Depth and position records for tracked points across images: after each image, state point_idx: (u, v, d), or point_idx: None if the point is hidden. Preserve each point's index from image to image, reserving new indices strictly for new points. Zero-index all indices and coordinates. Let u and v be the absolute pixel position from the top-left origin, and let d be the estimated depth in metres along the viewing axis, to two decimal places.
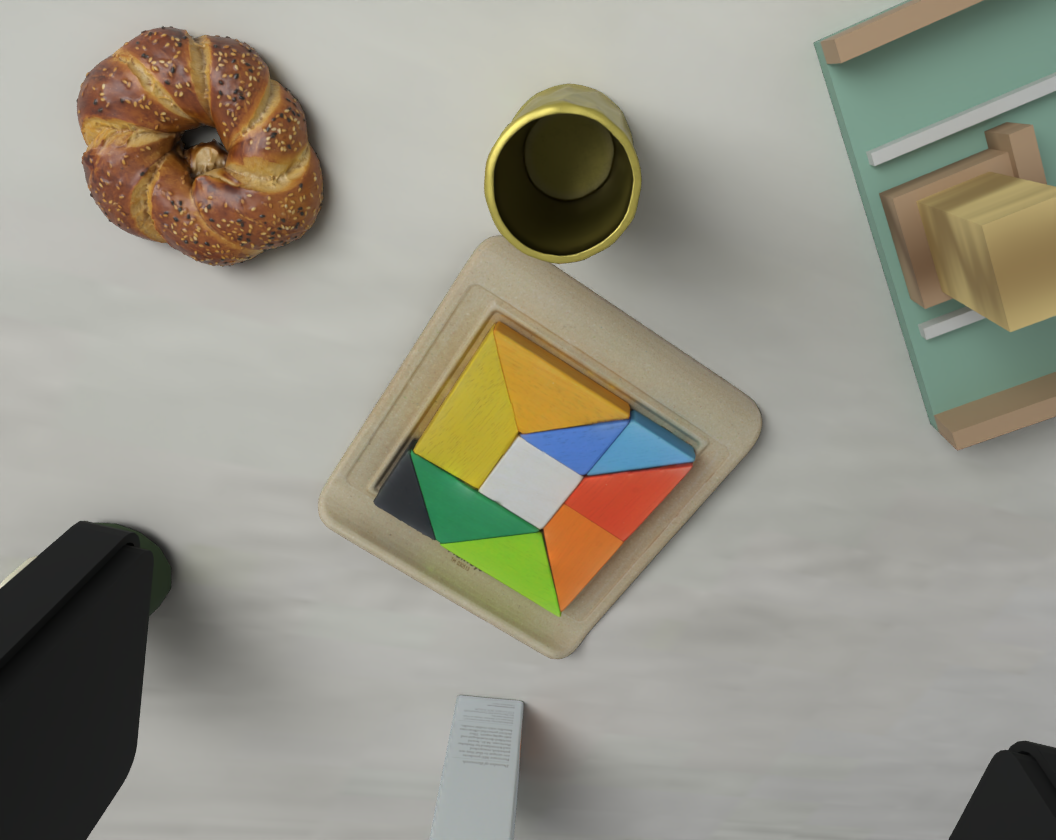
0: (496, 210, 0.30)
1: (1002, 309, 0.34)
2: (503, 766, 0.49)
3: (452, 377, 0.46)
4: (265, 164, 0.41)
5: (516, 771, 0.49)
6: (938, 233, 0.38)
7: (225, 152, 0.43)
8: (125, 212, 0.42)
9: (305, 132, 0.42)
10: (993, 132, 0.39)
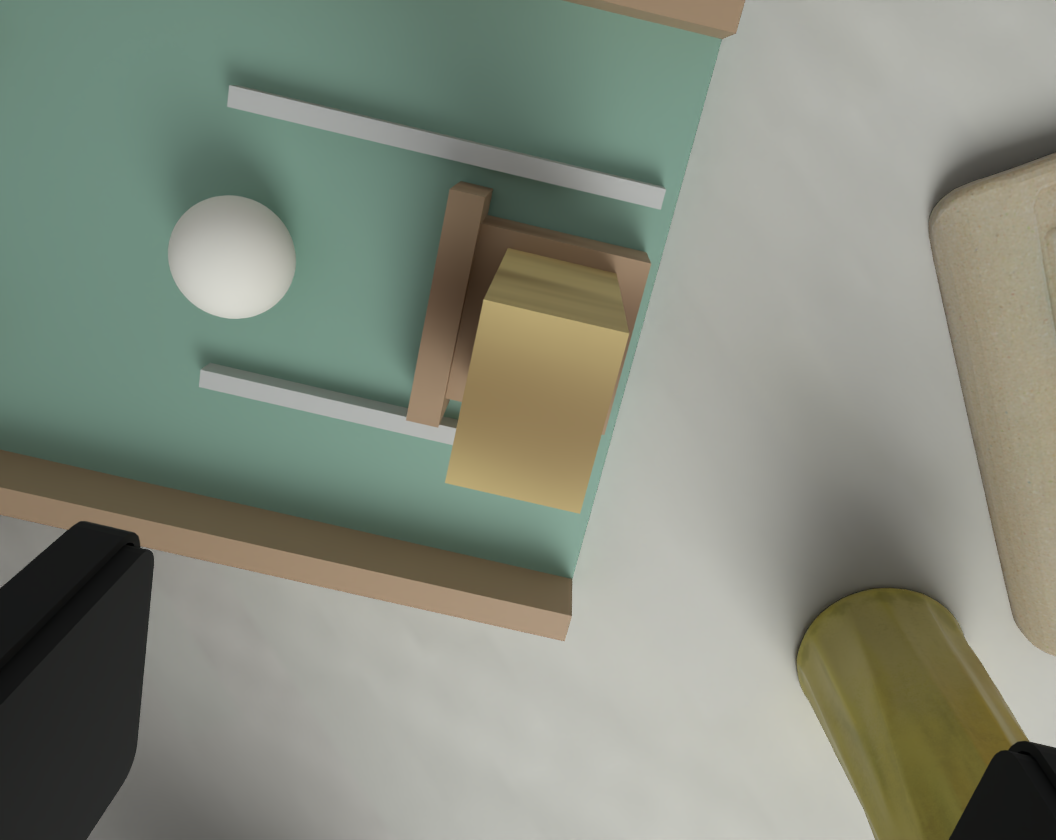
0: None
1: (618, 370, 0.20)
2: None
3: None
4: None
5: None
6: None
7: None
8: None
9: None
10: (444, 409, 0.29)
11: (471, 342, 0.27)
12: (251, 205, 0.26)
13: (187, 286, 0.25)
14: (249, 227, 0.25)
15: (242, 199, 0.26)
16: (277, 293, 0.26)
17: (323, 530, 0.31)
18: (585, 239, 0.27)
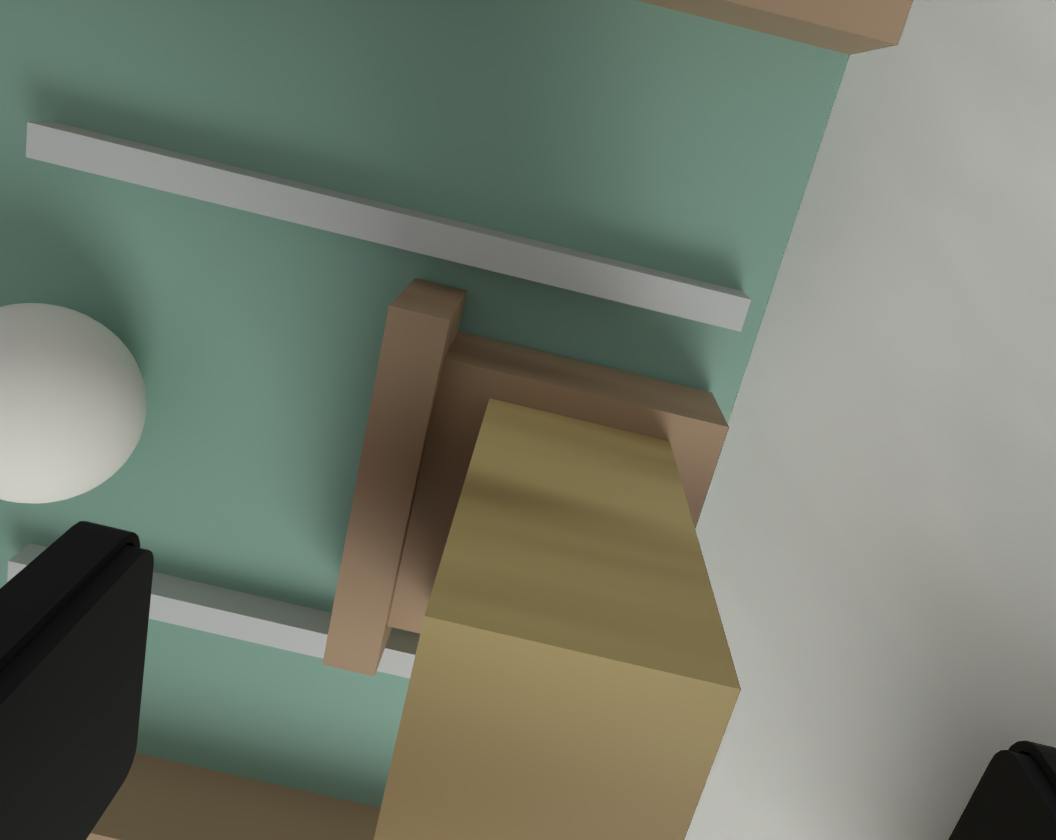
0: None
1: (710, 749, 0.09)
2: None
3: None
4: None
5: None
6: None
7: None
8: None
9: None
10: None
11: (429, 544, 0.16)
12: (59, 323, 0.15)
13: None
14: (48, 365, 0.15)
15: (45, 312, 0.15)
16: (108, 465, 0.16)
17: (209, 787, 0.20)
18: (615, 373, 0.17)
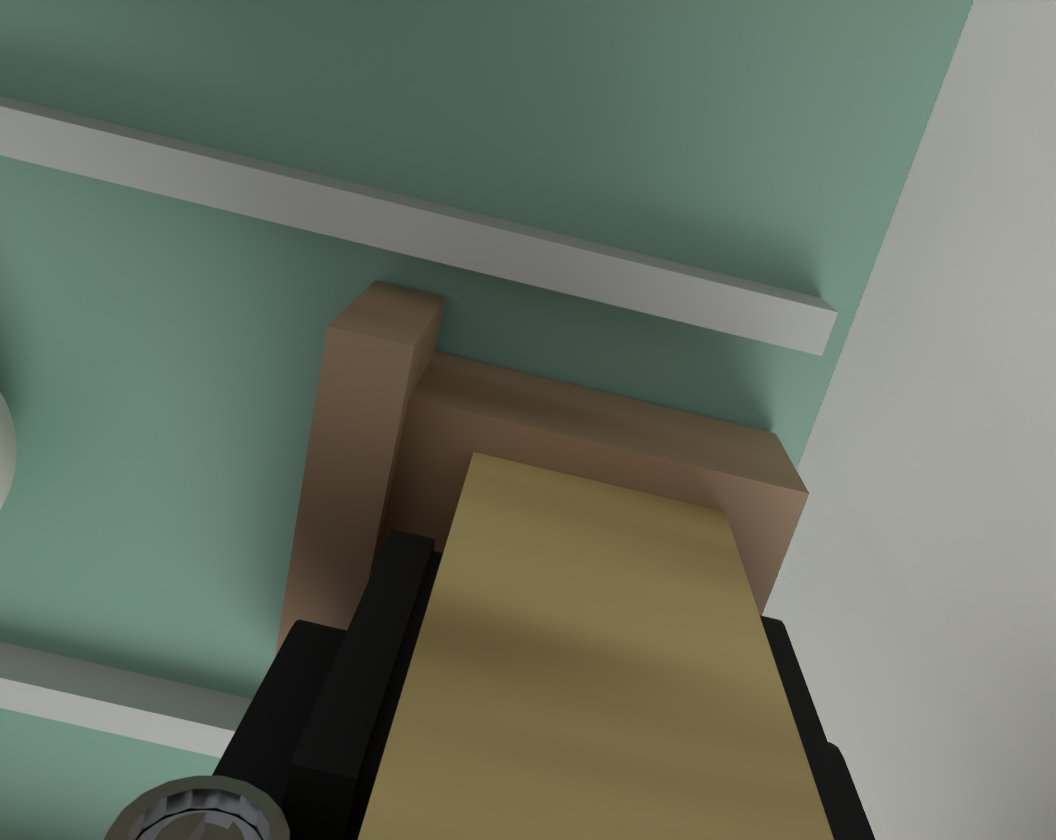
0: None
1: None
2: None
3: None
4: None
5: None
6: None
7: None
8: None
9: None
10: None
11: None
12: None
13: None
14: None
15: None
16: None
17: None
18: (646, 409, 0.12)
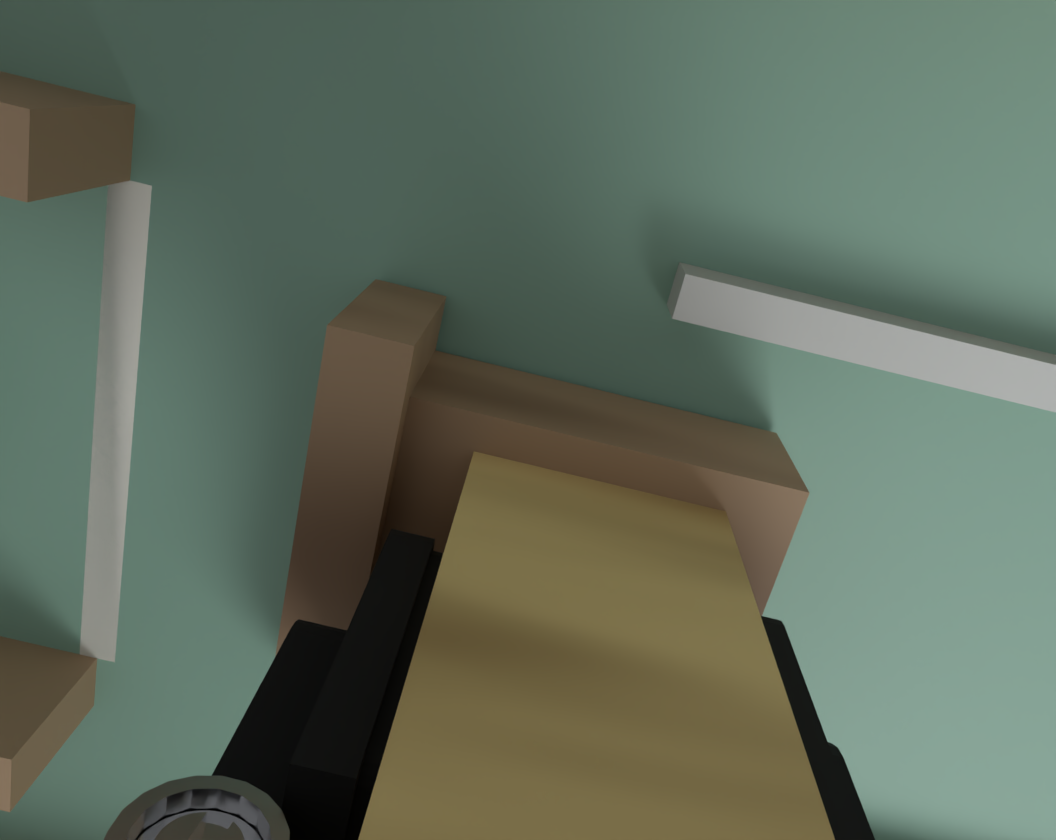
0: None
1: None
2: None
3: None
4: None
5: None
6: None
7: None
8: None
9: None
10: None
11: None
12: None
13: None
14: None
15: None
16: None
17: None
18: (647, 408, 0.12)
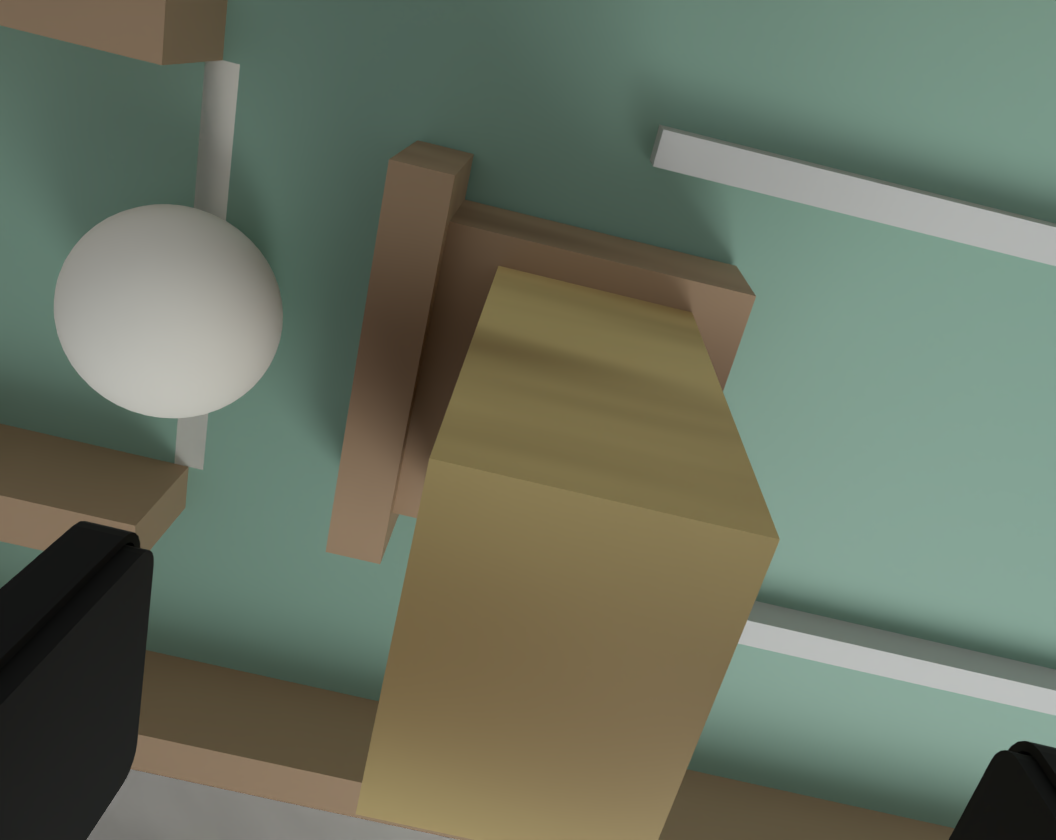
0: None
1: (743, 608, 0.08)
2: None
3: None
4: None
5: None
6: None
7: None
8: None
9: None
10: (395, 517, 0.17)
11: (435, 425, 0.15)
12: (204, 211, 0.15)
13: (257, 379, 0.15)
14: None
15: (192, 209, 0.15)
16: None
17: (688, 786, 0.20)
18: (633, 244, 0.16)
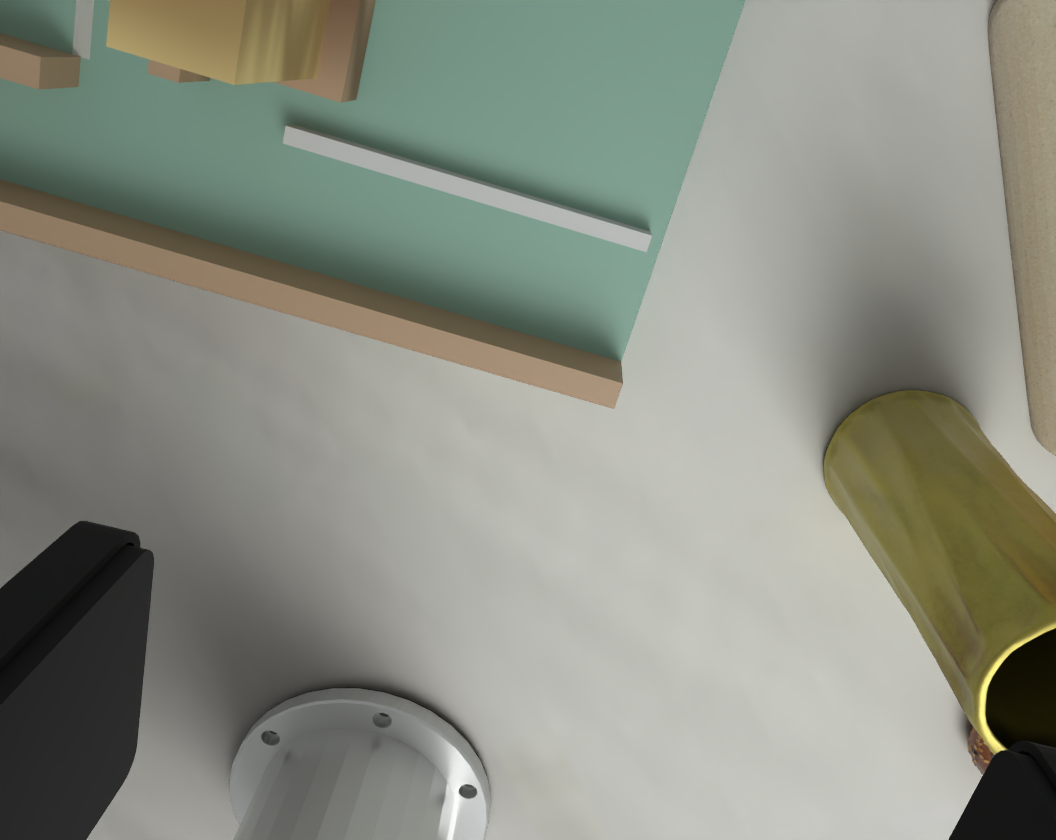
0: None
1: None
2: None
3: None
4: None
5: None
6: (306, 36, 0.26)
7: None
8: None
9: None
10: (198, 80, 0.30)
11: None
12: None
13: None
14: None
15: None
16: None
17: (389, 298, 0.32)
18: None
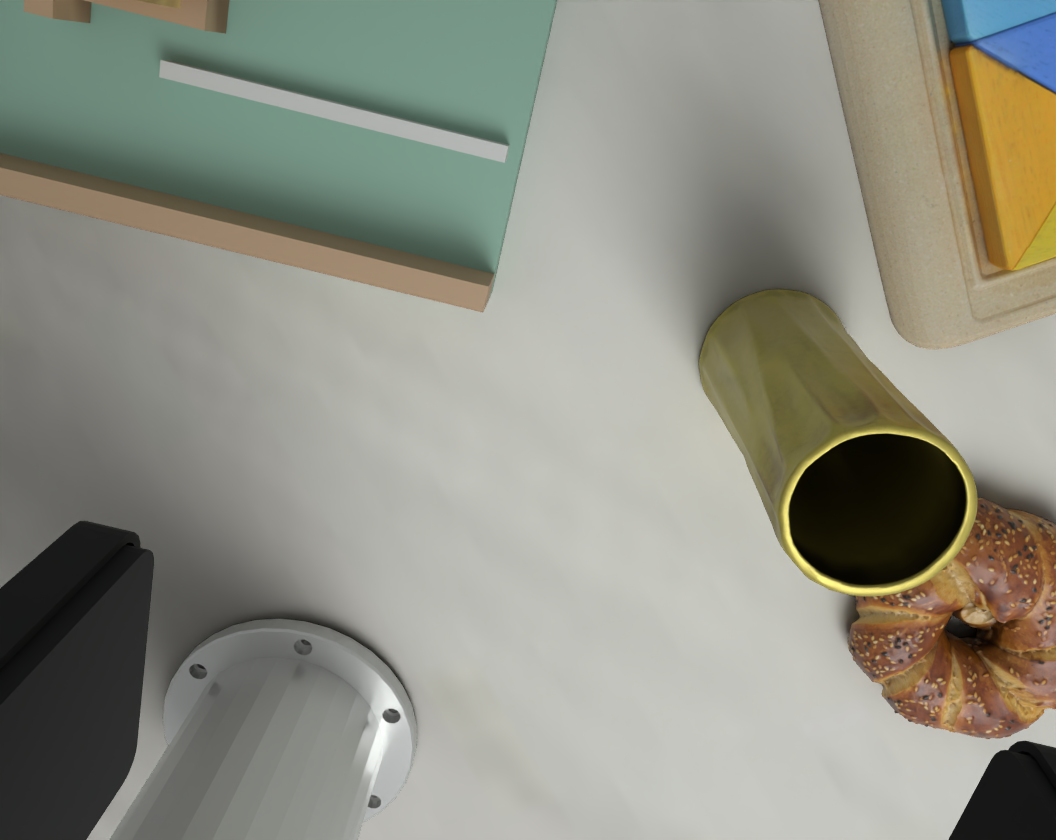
0: (958, 537, 0.24)
1: None
2: None
3: None
4: (939, 585, 0.37)
5: None
6: None
7: None
8: None
9: None
10: (76, 21, 0.32)
11: None
12: None
13: None
14: None
15: None
16: None
17: (271, 222, 0.35)
18: None
